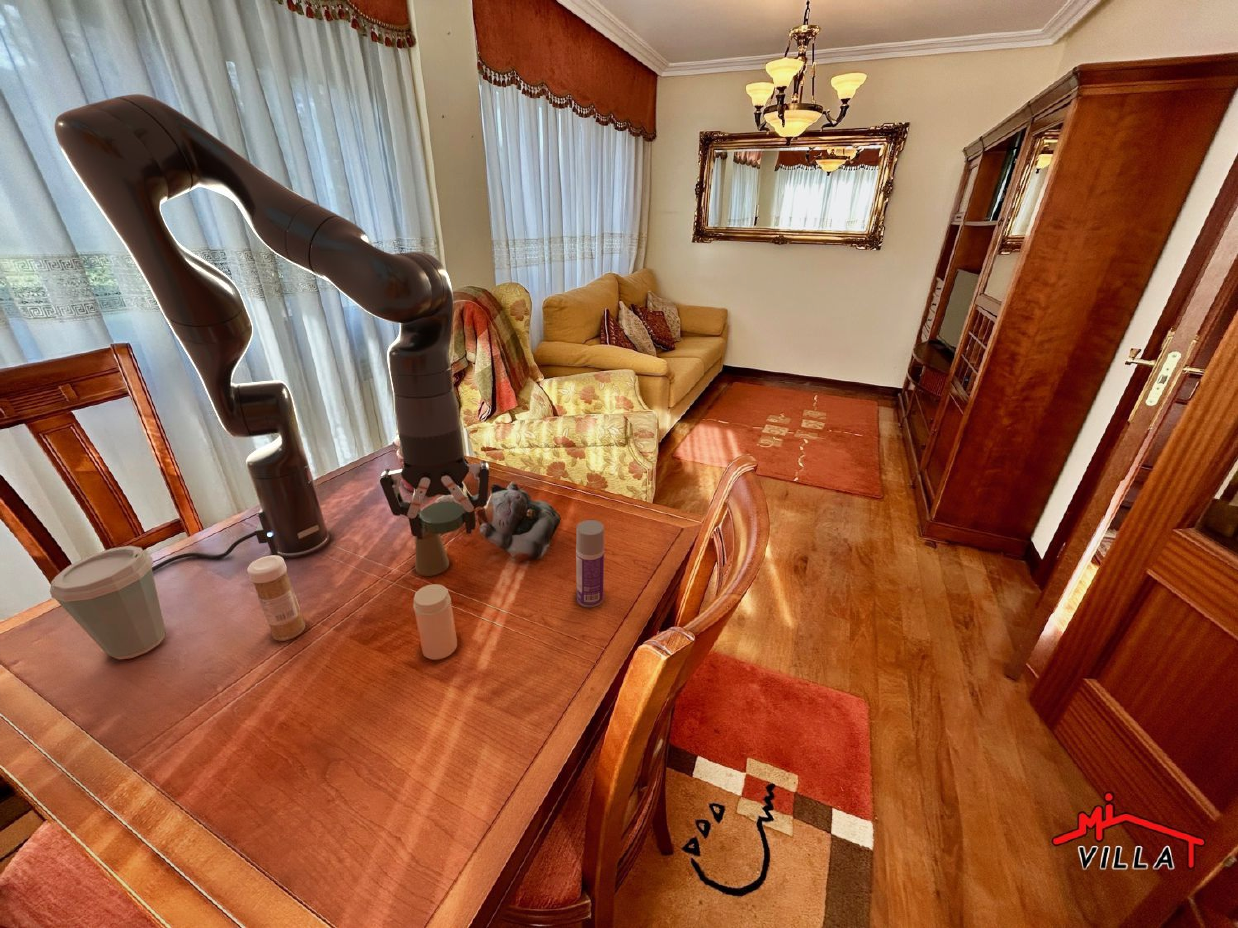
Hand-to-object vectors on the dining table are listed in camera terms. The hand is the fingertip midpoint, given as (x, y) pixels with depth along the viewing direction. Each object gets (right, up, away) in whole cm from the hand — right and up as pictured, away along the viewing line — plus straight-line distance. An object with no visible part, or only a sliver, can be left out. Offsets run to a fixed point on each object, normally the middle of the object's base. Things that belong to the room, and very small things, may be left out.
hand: (445, 533), depth 71 cm
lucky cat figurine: (+5, -7, +31) cm, 32 cm away
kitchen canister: (-22, +5, +54) cm, 58 cm away
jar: (-3, -19, +7) cm, 20 cm away
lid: (0, +3, -1) cm, 3 cm away
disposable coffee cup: (-49, -18, +6) cm, 52 cm away
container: (+19, -14, +18) cm, 30 cm away
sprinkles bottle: (-28, -17, +9) cm, 34 cm away
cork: (-11, -10, +24) cm, 28 cm away
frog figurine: (-12, -3, +38) cm, 40 cm away
